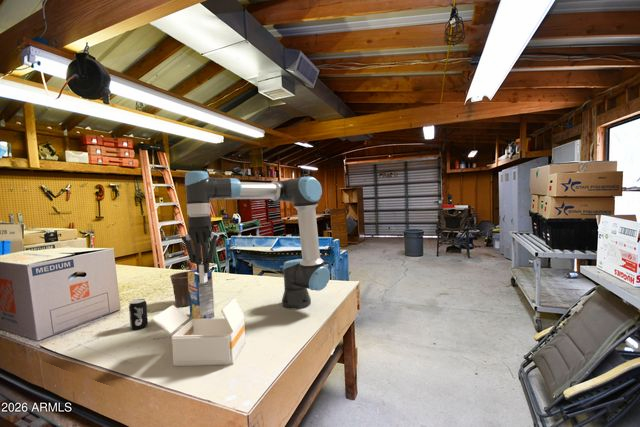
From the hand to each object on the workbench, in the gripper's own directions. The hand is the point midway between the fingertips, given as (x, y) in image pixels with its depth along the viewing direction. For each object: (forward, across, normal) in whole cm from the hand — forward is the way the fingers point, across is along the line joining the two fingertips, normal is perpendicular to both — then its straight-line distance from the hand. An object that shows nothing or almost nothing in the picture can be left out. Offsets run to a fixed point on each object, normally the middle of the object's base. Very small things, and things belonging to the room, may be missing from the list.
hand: (203, 282), depth 99 cm
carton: (+26, -1, 0) cm, 26 cm away
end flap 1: (+16, +9, 0) cm, 18 cm away
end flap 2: (+16, -12, 0) cm, 20 cm away
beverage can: (+26, +42, -23) cm, 55 cm away
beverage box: (+26, +18, -33) cm, 46 cm away
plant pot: (+26, +36, -53) cm, 69 cm away
